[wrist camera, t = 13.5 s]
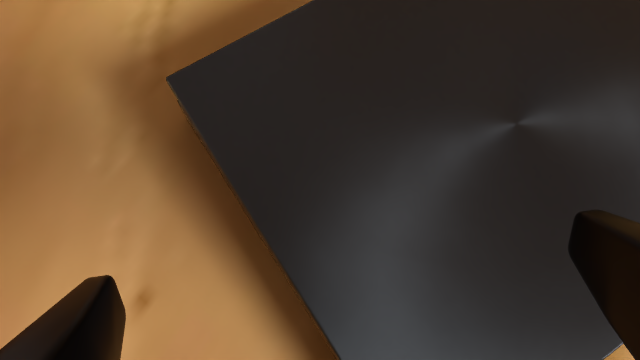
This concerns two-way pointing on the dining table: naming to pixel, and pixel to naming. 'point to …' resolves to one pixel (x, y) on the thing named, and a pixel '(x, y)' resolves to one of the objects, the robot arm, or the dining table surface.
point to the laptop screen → (432, 165)
